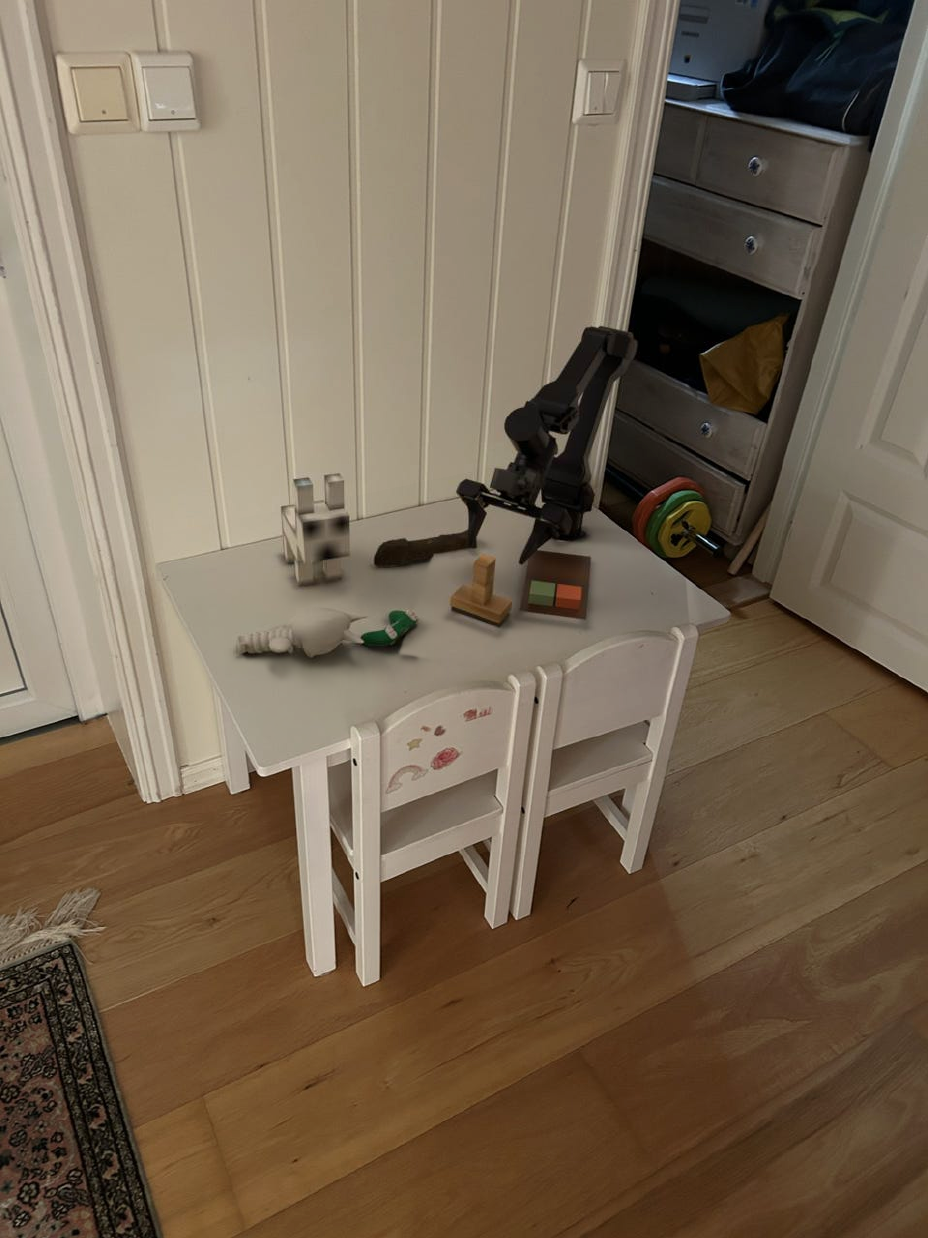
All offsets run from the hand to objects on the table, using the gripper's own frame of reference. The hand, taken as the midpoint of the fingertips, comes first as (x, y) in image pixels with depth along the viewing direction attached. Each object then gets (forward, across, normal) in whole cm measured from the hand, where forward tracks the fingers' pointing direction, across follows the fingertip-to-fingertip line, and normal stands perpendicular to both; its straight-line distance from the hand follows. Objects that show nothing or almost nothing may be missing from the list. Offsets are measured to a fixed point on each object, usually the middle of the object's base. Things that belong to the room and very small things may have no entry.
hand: (494, 555), depth 148 cm
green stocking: (+18, -10, -3) cm, 21 cm away
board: (-1, +7, +16) cm, 17 cm away
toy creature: (+26, -18, -10) cm, 33 cm away
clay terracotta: (+1, +11, +12) cm, 16 cm away
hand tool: (+2, -17, +13) cm, 21 cm away
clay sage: (+2, +7, +11) cm, 13 cm away
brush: (+10, 0, +5) cm, 11 cm away
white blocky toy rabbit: (+12, -31, +3) cm, 33 cm away
